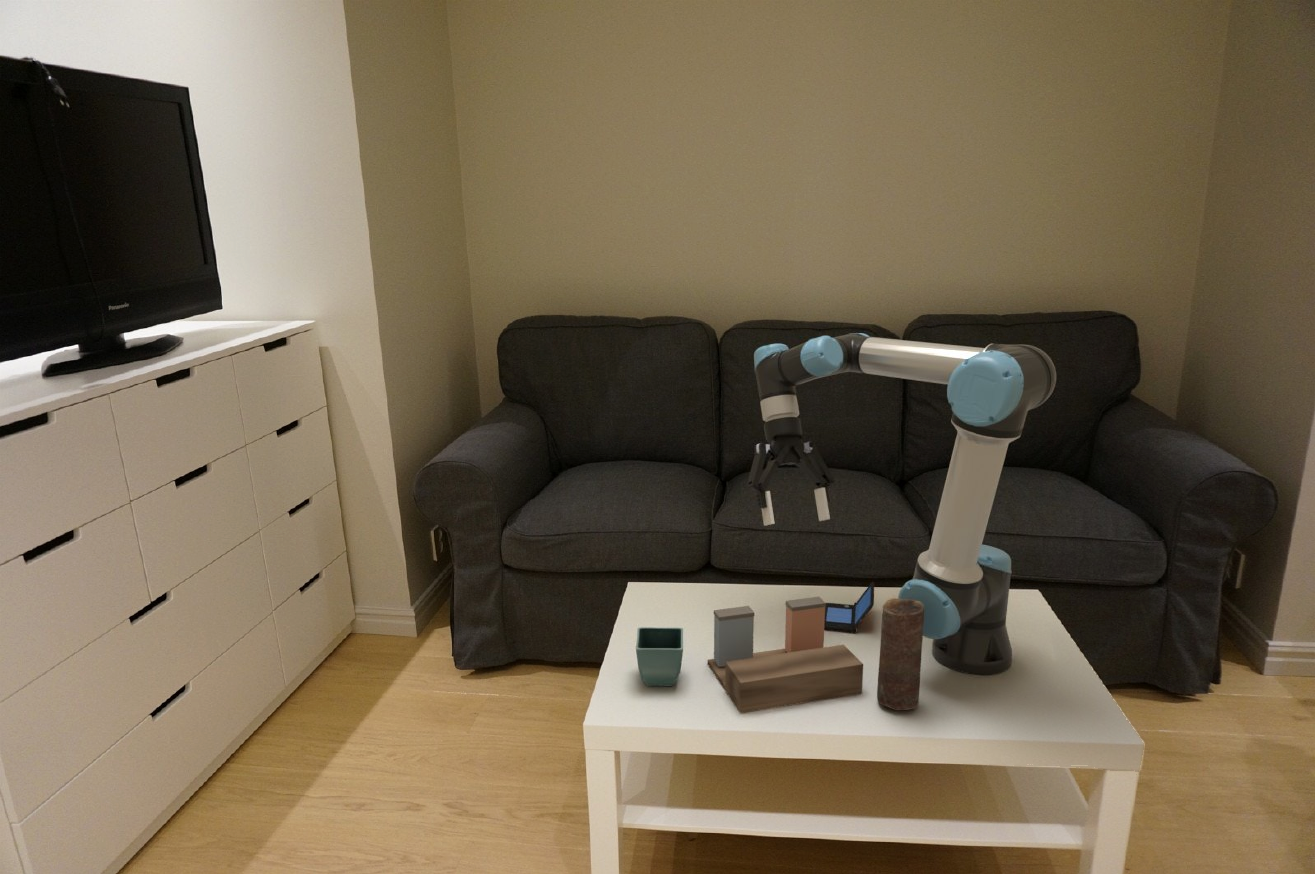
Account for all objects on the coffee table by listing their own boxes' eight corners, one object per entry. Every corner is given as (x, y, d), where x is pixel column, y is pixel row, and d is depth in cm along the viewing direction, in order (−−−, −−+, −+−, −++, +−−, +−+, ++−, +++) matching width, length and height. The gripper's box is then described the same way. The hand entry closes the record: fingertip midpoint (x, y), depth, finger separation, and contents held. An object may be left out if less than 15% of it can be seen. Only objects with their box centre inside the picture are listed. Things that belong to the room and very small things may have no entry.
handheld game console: (823, 606, 207) (825, 576, 205) (872, 611, 205) (874, 580, 203) (820, 631, 195) (821, 599, 194) (872, 636, 193) (873, 604, 191)
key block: (707, 664, 182) (707, 636, 180) (819, 648, 188) (820, 621, 186) (740, 713, 164) (740, 683, 163) (861, 693, 170) (863, 664, 169)
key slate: (713, 659, 181) (713, 610, 178) (747, 654, 182) (748, 605, 180) (718, 667, 178) (719, 617, 175) (753, 662, 179) (754, 612, 177)
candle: (910, 720, 161) (917, 616, 156) (870, 708, 165) (875, 606, 160) (923, 701, 168) (930, 600, 163) (884, 690, 172) (890, 591, 166)
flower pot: (683, 692, 171) (683, 648, 169) (636, 692, 172) (635, 648, 169) (683, 669, 180) (683, 627, 178) (638, 668, 180) (637, 627, 178)
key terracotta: (784, 649, 184) (785, 600, 182) (817, 644, 186) (819, 596, 184) (790, 657, 181) (792, 607, 179) (823, 652, 183) (825, 603, 181)
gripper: (819, 422, 197) (835, 520, 193) (720, 425, 186) (735, 529, 182) (840, 414, 191) (857, 515, 187) (739, 416, 179) (755, 523, 175)
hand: (797, 522), depth 184 cm, fingers open, 13 cm apart
